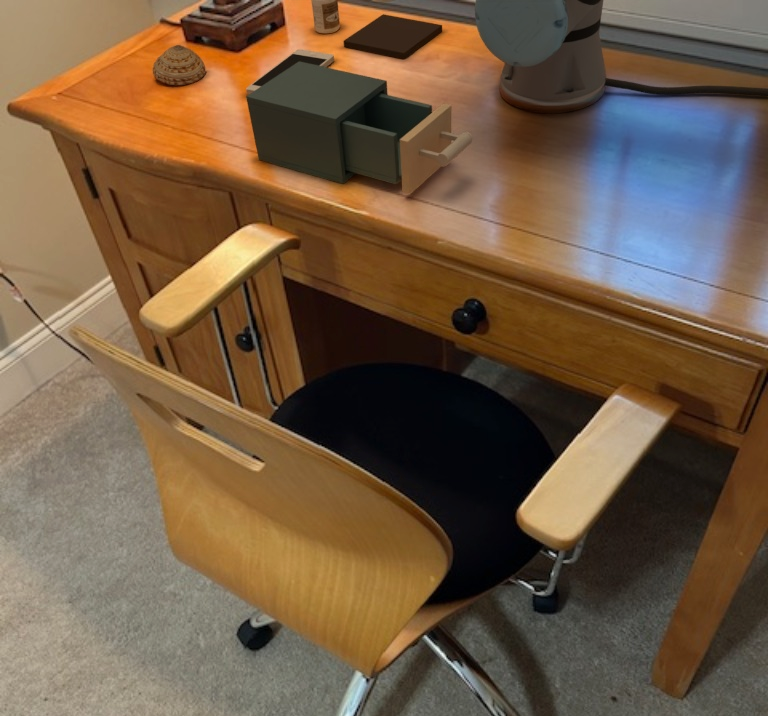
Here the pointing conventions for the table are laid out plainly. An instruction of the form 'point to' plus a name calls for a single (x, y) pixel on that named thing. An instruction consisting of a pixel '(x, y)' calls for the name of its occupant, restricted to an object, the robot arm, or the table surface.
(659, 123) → the table surface
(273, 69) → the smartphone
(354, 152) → the drawer
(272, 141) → the cabinet
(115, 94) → the table surface
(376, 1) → the spice pot
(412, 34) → the coaster
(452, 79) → the table surface
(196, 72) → the seashell
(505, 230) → the table surface
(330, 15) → the pill bottle
